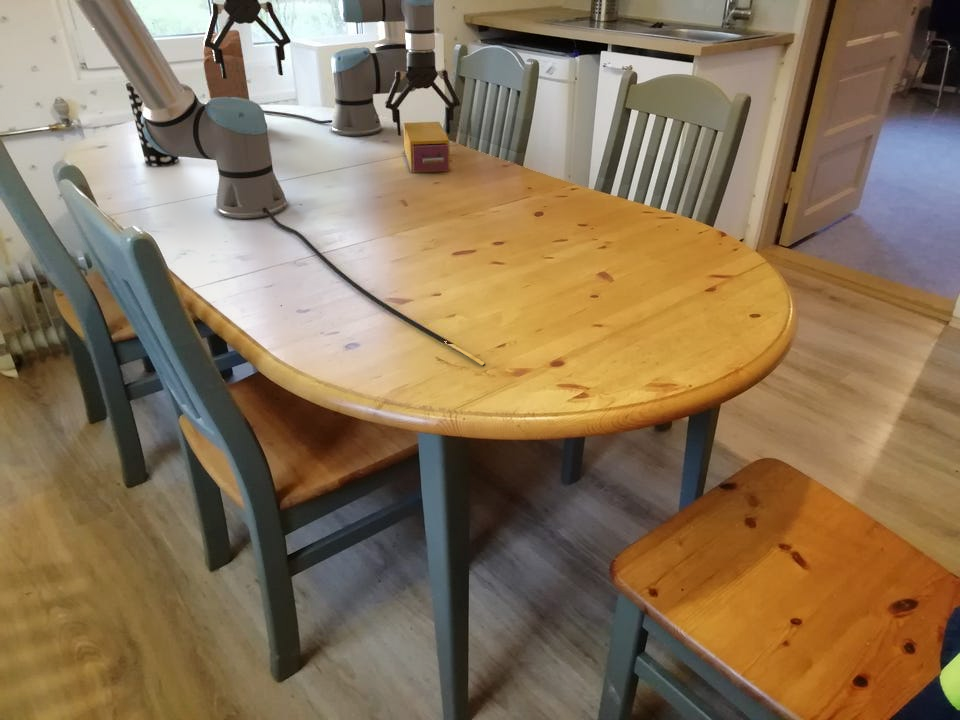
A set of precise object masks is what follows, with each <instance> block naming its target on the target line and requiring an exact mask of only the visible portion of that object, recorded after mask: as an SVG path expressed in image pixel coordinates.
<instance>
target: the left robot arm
mask: <svg viewBox="0 0 960 720" xmlns="http://www.w3.org/2000/svg"><path fill="white" fill-rule="evenodd" d="M73 1H74V2H75V4H76V6H77V7H78V9H79V11H80V12H81V13H82V15H83V16H84V17H85V19H86V20H87V22H88V23H89V25H90V27H91V28H92V29H93V31H94V32H95V34H96V36H97V37H98V38H99V39H100V41H101V42H102V44H103V46H104V47H105V48H106V50H107V51H108V53H109V55H110V56H111V57H112V59H113V60H114V62H115V63H116V64H117V66H118V68H119V69H120V70H121V72H122V74H123V75H124V76H125V78H126V79H127V81H128V83H129V82H130V84H131V85H132V87H133V88H134V90H135V91H136V93H137V94H138V96H139V97H140V98H141V100H142V101H143V103H142V106H141V111H142V115H141V124H143V125H144V128H142V130H143V133H144V135H145V137H146V139H147V141H148V142H149V143H150V145H151V146H152V147H153V148H155V149H156V150H157V151H159V152H161V153H164V154H168V155H172V156H175V157H178V158H189V159H201V160H211V161H216V167H217V169H218V170H217V172H218V185H217V189H216V190H217V193H216V201H215V203H216V204H215V206H216V210H217V213H218V214H219V215H221V216H223V217H225V218H229V219H236V220H253V219H260V218H261V219H262V218H265V217H266V218H267V217H268V218H270V220H271V221H272V222H273V223H274V224H275V226H277V227H279V228H280V229H283V230H285V231H287V232H289V233H292V234H294V235H295V236H297V237H298V238H299V239H300V240H301V241H302V242H303V243H304V244H305V245H306V246H307V247H308V248H309V249H310V250H311V251H312V252H313V253H314V254H315V255H316V256H317V257H318V258H320V260H322V262H324V263H325V264H326V265H327V266H328V267H329V268H330V269H331V270H332V271H333V272H335V273H336V274H337V275H338V276H340V277H341V279H343V280H344V281H346V282H347V284H349V285H350V286H352V287H353V288H355V290H357V291H359V292H360V293H361V294H363V295H364V296H366V297H367V298H368V299H370V300H371V301H373V302H374V303H376V304H377V305H378V306H380V307H381V308H383V309H385V310H386V311H388V312H390V313H391V314H393V315H394V316H396V317H397V318H399V319H401V320H402V321H405V322H406V323H407V324H409V325H411V326H412V327H414V328H416V329H418V330H420V331H421V332H423V333H425V334H427V335H428V336H430V337H431V338H433V339H435V340H437V341H438V342H440V343H442V344H444V343H445V342H444V341H447V342H446V343H447V344H454V343H453V342H452V341H450V340H448V339H446V338H445V337H442V336H441V335H439V334H438V333H436V332H434V331H432V330H430V329H429V328H427V327H425V326H423V325H421V324H420V323H419V322H416V321H415V320H413V319H411V318H410V317H408V316H407V315H405V314H403V313H401V312H400V311H398V310H396V309H395V308H393V307H391V306H390V305H388V304H387V303H385V302H384V301H382V300H380V299H379V298H378V297H376V296H375V295H373V294H371V293H370V292H368V291H367V290H366V289H365V288H363V287H362V286H360V285H359V284H357V283H356V282H355V281H353V280H352V279H351V278H350V277H349V276H348V275H346V274H345V273H344V272H343V271H341V270H340V269H339V268H338V267H336V266H335V265H334V264H333V263H332V262H331V261H330V260H329V259H328V258H327V257H325V256H324V255H323V254H322V253H321V252H320V251H319V250H318V249H317V248H316V247H315V246H314V245H313V244H311V242H309V240H308V239H307V237H305V236H304V235H303V234H301V233H300V232H299V231H297V230H296V229H293V228H291V227H288V226H286V225H284V224H282V223H281V222H279V220H277V219H276V217H274V215H276V214H278V213H280V212H282V211H283V210H285V209H286V207H287V199H286V194H285V193H284V191H283V189H282V187H281V184H280V182H279V180H278V179H277V177H276V175H275V172H274V167H273V160H272V154H271V153H272V152H271V147H270V140H269V133H268V123H267V121H266V120H267V119H266V116H265V113H264V112H263V110H264V109H263V108H262V107H261V105H259V104H258V103H257V102H256V101H253V100H250V99H249V100H247V99H243V98H237V97H231V98H228V97H217V98H212V99H210V98H209V99H208V100H207V101H206V103H202V102H201V101H200V100H199V98H198V97H197V95H196V93H195V92H194V90H193V89H192V87H191V86H189V85H188V84H185V83H181V82H180V81H179V78H178V76H177V75H176V74H175V72H174V71H173V69H172V68H171V66H170V64H169V62H168V60H167V59H166V57H165V56H164V54H163V52H162V51H161V49H160V47H159V46H158V44H157V43H156V41H155V38H153V36H152V34H151V33H150V31H149V29H148V27H147V26H146V24H145V22H144V21H143V19H142V17H141V16H140V14H139V12H138V11H137V9H136V7H135V6H134V4H133V3H132V1H131V0H73ZM262 9H263V12H265V13H266V14H267V15H268V16H269V18H270V19H271V21H272V23H273V24H274V26H275V28H276V30H277V32H278V33H279V34H280V37H281V39H280V38H279V36H278V35H277V34H276V33H275V32H274V31H273V30H272V29H271V28H270V27H269V26H268V25H267V24H266V23H265V22H264V21H263V20H262V19H261V17H259V14H260V12H261V10H262ZM223 10H224V11H225V12H226V14H227V15H228V17H227V18H226V20H225V23H223V26H222V27H221V28H220V30H219V32H218V33H219V34H218V35H217V37H216V39H215V40H214V42H211V39H212V36H213V35H214V33H215V29H216V25H217V22H218V19H219V15H220V14H222V12H223ZM235 23H236V24H238V25H243V24H248V25H249V24H254V23H256V24H257V25H258V26H260V28H261V29H262V30H263V31H264V32H265V33H266V34H267V35H268V36H269V37H270V38H271V39H272V40H273V41H274V42H275V43H276V44H277V45H274V52H275V59H276V67H277V74H278V75H279V76H284V73H283V71H284V70H283V65H282V64H283V63H282V61H285V60H286V53H285V46H286V45H288V44H290V43H291V41H292V40H291V39H290V37H289V35H288V33H287V32H286V30H285V28H284V26H283V24H281V21H280V20H279V18H278V17H277V15H276V13H275V11H274V6H273V3H272V2H271V1H268V0H267V1H265V2H260V1H259V0H224V2H223V3H216V2H211V15H210V19H209V22H208V26H207V29H206V33H205V35H204V40H203V46H204V45H205V46H206V47H209V48H212V49H213V54H214V59H215V62H216V64H220V66H221V72H222V77H223V79H227V77H226V71H225V66H224V60H223V54H222V49H221V48H218V47H219V46H220V44H221V43H222V41H223V39H224V38H225V36H226V35H227V33H228V31H229V30H231V28H232V27H233V26H234V24H235Z"/></svg>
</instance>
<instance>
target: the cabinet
mask: <svg viewBox="0 0 960 720" xmlns="http://www.w3.org/2000/svg"><path fill="white" fill-rule="evenodd" d="M402 125H403V126H402V127H403V142H404V145H403V146H404V154H405V158H406V160H407V164H408V167H409V169H410V173H411V174H412V173H414V174H415V173H434V172H437V173H438V172H450V171H451V170H450V139H449V137H448V134H447V132H446V131H445V130H444V128H443V126H442V124H441V123H440V121H421V122H403V124H402ZM418 144H444V145H448V170H431V171H414V161H413V146H414V145H418Z"/></svg>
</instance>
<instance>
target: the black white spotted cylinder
mask: <svg viewBox="0 0 960 720" xmlns="http://www.w3.org/2000/svg"><path fill="white" fill-rule="evenodd" d="M125 87H126V91H127V95H128V99H129V103H130V107H131V110H132V115H133V118H134V122H135V123H134V124H135V127H136V130H137V134H138V139H139V143H140V146H141V150H142V155H143V158H144V163H145V164H146V165H147V166H151V167H164V166H170V165H174V164H176V163H178V162H179V157H175V156H172V155H168V154H164V153H161V152H159V151H157V150H156V149H155V148H153V147H152V146H151V145H150V143H149V142H148V141H147V139H146V137H145V135H144V133H143V130H142V128H144V125H143V124H141V115H142V111H141V106H142V103H143V101H142V100H141V98H140V97H139V96H138V94H137V93H136V91H135V90H134V88H133V87H132V85H131V84H130V82H129V81H128V82H127V83H126V84H125Z"/></svg>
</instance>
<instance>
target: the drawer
mask: <svg viewBox="0 0 960 720" xmlns="http://www.w3.org/2000/svg"><path fill="white" fill-rule="evenodd" d="M413 161H414V171H431V170H448V145H444V144H418V145H414V146H413Z"/></svg>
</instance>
